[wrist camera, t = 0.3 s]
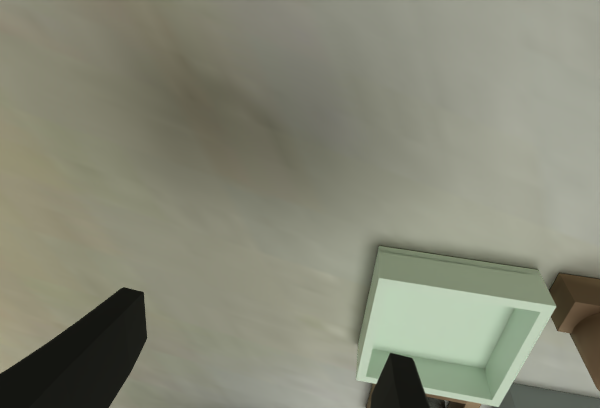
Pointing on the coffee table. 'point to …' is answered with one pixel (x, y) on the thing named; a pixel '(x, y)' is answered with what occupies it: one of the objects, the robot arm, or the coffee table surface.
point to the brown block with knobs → (579, 317)
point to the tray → (452, 322)
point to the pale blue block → (545, 398)
